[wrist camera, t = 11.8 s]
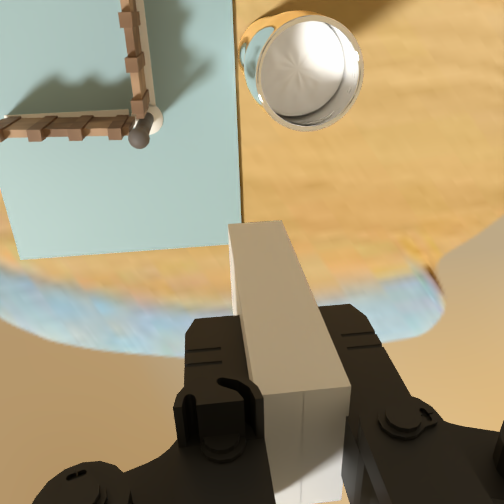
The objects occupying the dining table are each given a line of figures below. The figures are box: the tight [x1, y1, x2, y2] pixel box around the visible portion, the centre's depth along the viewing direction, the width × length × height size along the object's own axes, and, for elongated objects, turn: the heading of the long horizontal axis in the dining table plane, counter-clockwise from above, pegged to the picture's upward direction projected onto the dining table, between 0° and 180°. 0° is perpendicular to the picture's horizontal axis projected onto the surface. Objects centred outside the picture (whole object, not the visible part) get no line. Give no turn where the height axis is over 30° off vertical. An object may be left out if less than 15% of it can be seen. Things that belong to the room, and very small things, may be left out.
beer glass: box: [238, 10, 364, 132], centre depth 35 cm, size 7×7×15 cm
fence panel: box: [0, 115, 135, 142], centre depth 39 cm, size 11×1×5 cm, turn 90°
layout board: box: [0, 0, 241, 260], centre depth 42 cm, size 26×22×1 cm
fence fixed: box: [118, 0, 154, 149], centre depth 36 cm, size 13×2×8 cm, turn 2°
